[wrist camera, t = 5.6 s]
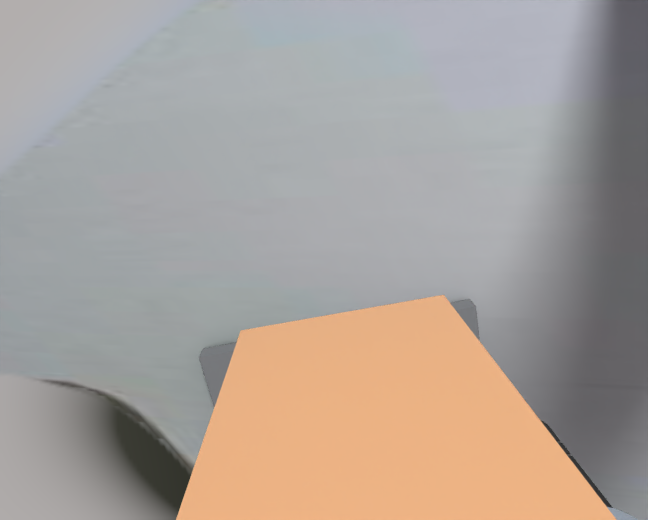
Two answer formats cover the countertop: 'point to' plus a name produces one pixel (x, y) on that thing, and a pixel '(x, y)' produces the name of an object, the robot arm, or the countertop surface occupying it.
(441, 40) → the countertop surface
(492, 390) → the peach foam cube
